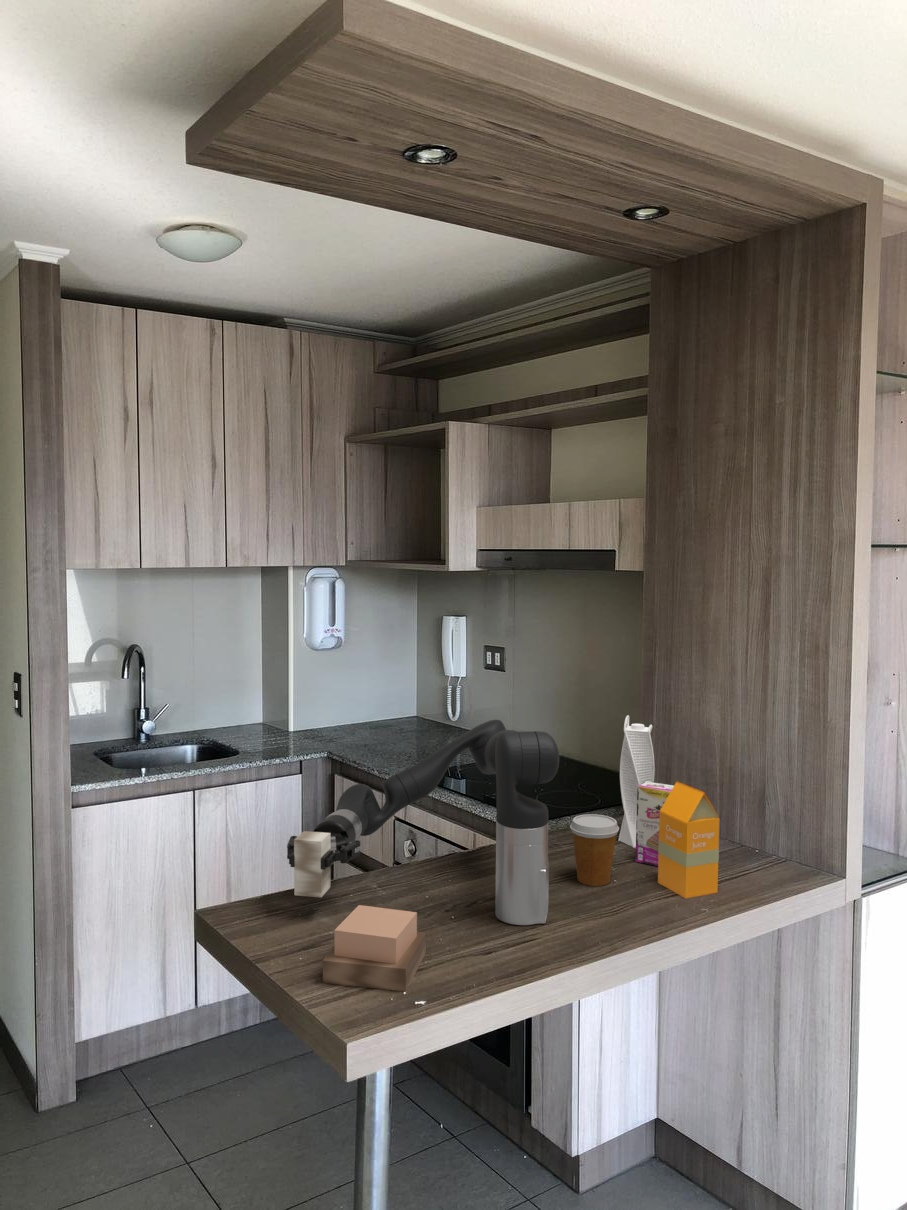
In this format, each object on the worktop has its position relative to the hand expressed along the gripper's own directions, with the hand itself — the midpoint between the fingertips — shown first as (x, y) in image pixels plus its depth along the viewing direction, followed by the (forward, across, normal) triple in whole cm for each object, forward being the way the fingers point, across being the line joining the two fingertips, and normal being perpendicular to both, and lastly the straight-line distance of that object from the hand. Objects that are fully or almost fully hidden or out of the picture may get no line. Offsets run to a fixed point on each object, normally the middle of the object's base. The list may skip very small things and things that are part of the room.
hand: (307, 862), depth 166 cm
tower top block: (+15, -17, -7) cm, 24 cm away
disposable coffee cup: (-30, -48, -10) cm, 58 cm away
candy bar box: (-42, -62, -10) cm, 76 cm away
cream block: (-3, 0, -6) cm, 7 cm away
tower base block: (+15, -17, -11) cm, 25 cm away
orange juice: (-30, -66, -10) cm, 74 cm away
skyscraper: (-55, -56, -10) cm, 79 cm away
